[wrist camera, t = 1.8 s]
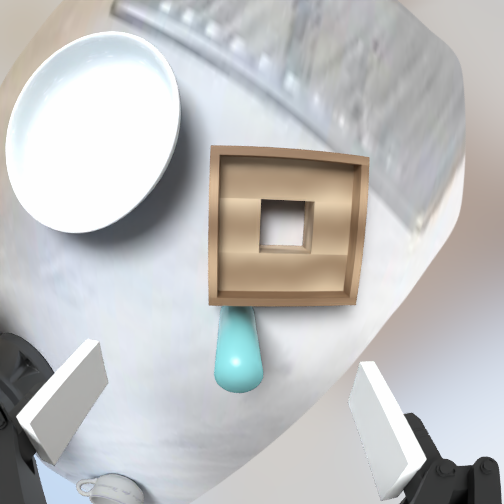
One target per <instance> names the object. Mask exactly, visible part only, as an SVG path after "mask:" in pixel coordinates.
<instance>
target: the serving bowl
mask: <svg viewBox="0 0 504 504" xmlns="http://www.w3.org/2000/svg"><path fill="white" fill-rule="evenodd" d="M180 120H181V103H180V94H179V89H178V84H177V81H176V78H175V75H174V72H173V70H172V68H171V66H170V64H169V63H168V61H167V60H166V58H165V57H164V56H163V54H162V53H161V52H160V51H159V50H158V49H157V48H156V47H155V46H153V45H152V44H151V43H149V42H148V41H146V40H144V39H142V38H140V37H138V36H135V35H132V34H128V33H123V32H102V33H96V34H92V35H88V36H85V37H82V38H80V39H77V40H75V41H73V42H71V43H69V44H68V45H66V46H64V47H63V48H61V49H60V50H58V51H57V52H55V53H54V54H53V55H52V56H51V57H49V58H48V59H47V60H46V61H45V62H44V63H43V64H42V65H41V66H40V67H39V68H38V69H37V70H36V71H35V73H34V74H33V75H32V76H31V78H30V79H29V80H28V82H27V83H26V85H25V87H24V88H23V90H22V92H21V94H20V95H19V97H18V100H17V102H16V104H15V107H14V109H13V112H12V115H11V118H10V122H9V126H8V131H7V138H6V163H7V170H8V174H9V178H10V182H11V184H12V187H13V190H14V192H15V194H16V196H17V198H18V200H19V201H20V203H21V204H22V206H23V207H24V208H25V210H26V211H27V212H28V213H29V214H30V215H31V216H32V217H33V218H35V219H36V220H37V221H38V222H40V223H41V224H43V225H45V226H47V227H49V228H51V229H54V230H57V231H60V232H65V233H87V232H92V231H96V230H99V229H102V228H105V227H107V226H109V225H111V224H113V223H115V222H117V221H118V220H120V219H122V218H123V217H125V216H126V215H127V214H129V213H130V212H131V211H132V210H133V209H135V208H136V207H137V206H138V205H139V204H140V203H141V202H142V201H143V200H144V199H145V198H146V197H147V196H148V195H149V194H150V192H151V191H152V190H153V189H154V187H155V186H156V185H157V183H158V182H159V180H160V179H161V177H162V176H163V174H164V172H165V171H166V169H167V167H168V165H169V162H170V160H171V158H172V155H173V153H174V150H175V147H176V143H177V139H178V135H179V129H180Z"/></svg>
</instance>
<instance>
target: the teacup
mask: <svg viewBox="0 0 504 504" xmlns="http://www.w3.org/2000/svg"><path fill="white" fill-rule="evenodd" d="M87 483H91V484H95V485H94V487H93V489H91V490H90V491H88V492H84V491H82V490H81V485H83V484H87ZM76 488H77V491H78V492H79V493H80V494H81V495H83V496H87V497H88V496H90V501H91V502H92V503H93V504H143V501H144V495H143V492H142V490H141V489H140V488H139V487H138V486H137V484H136V483H135V482H133V481H132V480H130V479H128V478H126V477H124V476H121V475H118V474H107V475H102V476H100V477H99V478H94V479H83V480H80V481H78V482H77V484H76Z"/></svg>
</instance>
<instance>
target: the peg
mask: <svg viewBox="0 0 504 504" xmlns="http://www.w3.org/2000/svg"><path fill="white" fill-rule="evenodd" d="M214 376H215V380H216V382H217V383H218V385H219V386H220V387H222V388H223V389H225V390H227V391H229V392H233V393H244V392H248V391H251V390H253V389H254V388H256V387H257V386H258V385H259V384H260V383H261V381H262V378H263V368H262V362H261V355H260V349H259V342H258V336H257V329H256V322H255V316H254V310H253V308H252V306H222V308H221V311H220V319H219V329H218V339H217V350H216V361H215V372H214Z"/></svg>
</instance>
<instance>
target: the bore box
mask: <svg viewBox="0 0 504 504" xmlns="http://www.w3.org/2000/svg"><path fill="white" fill-rule="evenodd" d="M368 183H369V157H364V156H357V155H349V154H341V153H332V152H323V151H313V150H301V149H289V148H273V147H254V146H213V145H211V151H210V180H209V232H208V286H209V305H212V306H336V305H356V300H357V293H358V287H359V279H360V272H361V264H362V256H363V247H364V237H365V226H366V214H367V200H368ZM261 199H273V200H295V201H305V214H304V231H303V246H285V245H259V239H260V214H261Z"/></svg>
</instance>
